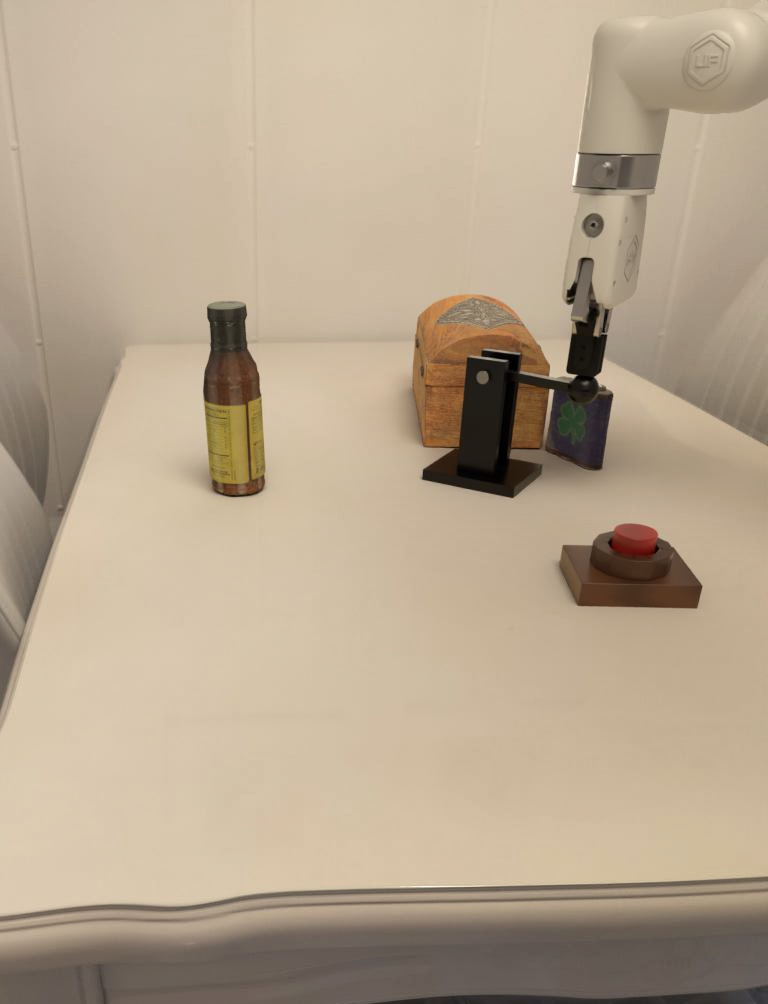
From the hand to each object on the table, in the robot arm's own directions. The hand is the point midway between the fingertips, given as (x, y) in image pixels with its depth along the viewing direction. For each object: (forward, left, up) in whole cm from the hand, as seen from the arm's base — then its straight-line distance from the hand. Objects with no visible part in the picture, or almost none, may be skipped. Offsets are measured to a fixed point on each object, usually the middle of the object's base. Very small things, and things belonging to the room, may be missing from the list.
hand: (583, 373), depth 95 cm
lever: (+4, -2, -3) cm, 6 cm away
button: (-1, +23, -10) cm, 25 cm away
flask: (-4, -12, -13) cm, 18 cm away
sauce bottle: (+36, 0, -13) cm, 39 cm away
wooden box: (+6, -30, -13) cm, 33 cm away
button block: (-1, +23, -13) cm, 27 cm away
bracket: (+8, -5, -13) cm, 16 cm away
